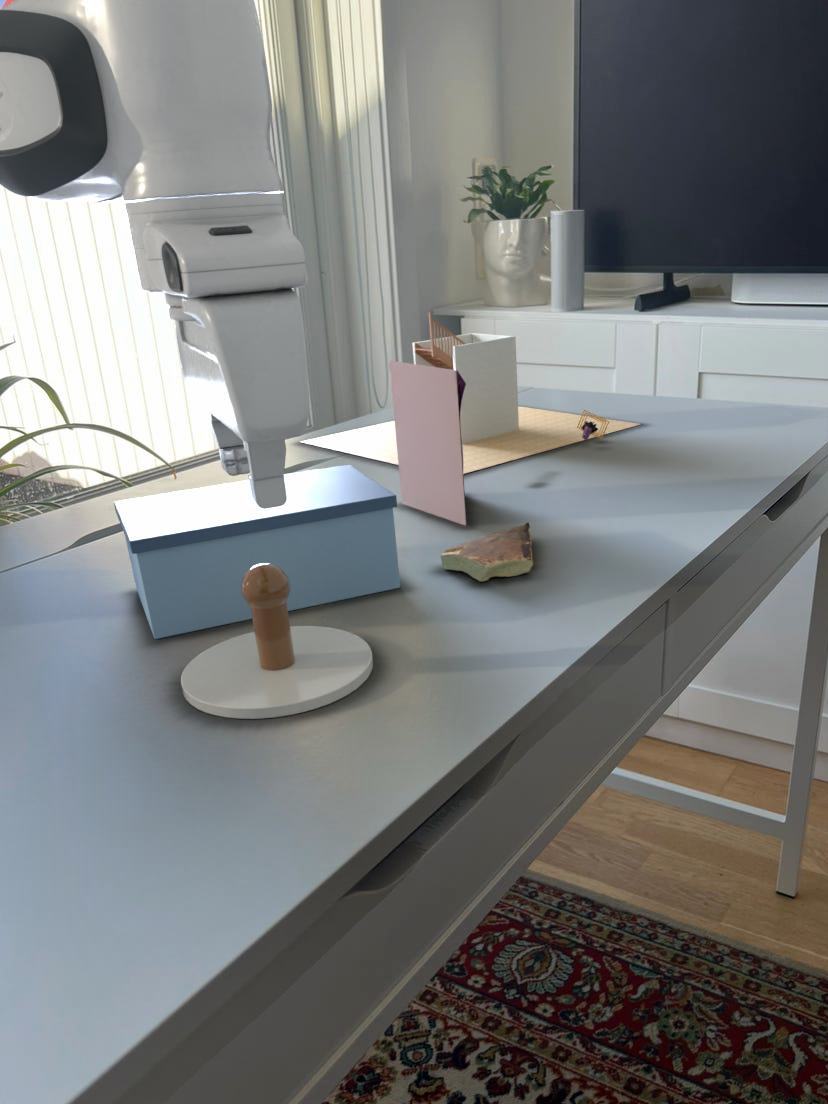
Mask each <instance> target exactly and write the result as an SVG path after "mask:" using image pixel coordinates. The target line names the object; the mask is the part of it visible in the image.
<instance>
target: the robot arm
mask: <svg viewBox="0 0 828 1104" xmlns="http://www.w3.org/2000/svg"><path fill="white" fill-rule="evenodd" d="M272 116H273V100H272V94H271V86H270V79H269V71H268V65H267V59H266V53H265V47H264V40H263V35H262V31H261V26H260V20H259V15H258V11H257V7H256V3H255V0H13V2H11V3H10V4H7V5H6V6H4V7H2V8H1V9H0V185H1V186H2V187H3V188H4V189H5V190H8V191H9V192H11V193H13V194H15V195H19V196H22V197H29V198H32V199H37V200H41V201H45V202H59V203H61V202H90V203H123V206H124V211H125V215H126V220H127V221H126V222H127V226H128V231H129V237H130V241H131V246H132V251H133V257H134V261H135V266H136V272H137V277H138V282H139V287H140V290H141V291H143V292H145V293H164V298H165V302H166V305H167V313H168V314H167V315H168V319H169V320H171V321H173V322H174V329H175V336H176V341H177V342H176V343H177V348H178V354H179V361H180V366H181V371H182V372H181V373H182V377H183V382H184V385H185V388H186V391H187V393H188V396H189V397H190V398H192V399H193V400H194V401H196V403H198V404H199V405H200V406H201V407H203V408H204V409H205V410H206V411H207V417H208V422H209V424H210V428H211V430H212V433H213V436H214V439H215V442H216V446H217V447H218V453H219V454H218V455H219V458H220V464H221V468H222V470H223V471H224V472H225V473H227V474H228V476H231V477H236V476H240V475H247V474H249V475H248V477H247V478H248V480H249V483H250V488H251V495H252V499H253V500H254V502H255V503H256V504H257V505H258V506H259V507H260V508H263V509H267V508H273V507H278V506H282V505H284V504H285V502H286V500H287V495H286V488H285V482H284V474H285V468H286V456H287V445H286V439H291V438H296V437H301V436H303V435H304V434H305V433H306V431H307V428H308V423H309V418H310V417H309V415H310V389H309V388H310V387H309V374H308V373H309V372H308V371H309V370H308V359H307V358H308V355H307V344H306V332H305V322H304V321H305V320H304V313H303V308H302V304H301V300H300V297H299V295H298V293H297V291H296V290H294V289H300V288H304V287H306V286H307V285H308V282H309V276H308V275H309V274H308V265H307V257H306V253H305V249H304V247H303V245H302V243H301V241H299V239H298V238H297V237H296V236H295V234H294V233H293V232H292V230H291V224H290V221H289V219H288V211H287V205H286V204H287V203H286V196H285V193H284V192H285V190H284V185H283V182H282V179H281V176H280V173H279V171H278V168H277V166H276V162H275V160H274V157H273V153H272V147H271V146H272V145H271V124H272Z"/></svg>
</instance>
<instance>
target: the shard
mask: <svg viewBox="0 0 828 1104" xmlns="http://www.w3.org/2000/svg"><path fill="white" fill-rule="evenodd" d="M530 528H531V525H530V522H526V523H525V524H523V525H518V526H515V527H512V528H510V529H507V530H503V531H500V532H499V531H498V532H496V533H495V532H494V533H491V534H488V535H485V536H482V537H478V538H475V539H472V540H469V541H467V542H463V543H460V544H458V545H456V546H452V547H450V548H448V549H444V551H443V552H442V553H441V555H440V561H441V566H442V569H443V570H450V571H458V572H464V573H465V574H468V576H470V577H471V578H473V579H475V580H477V581H478V582H480V583H481V582H486V581H489V580H490V578H494V577H500V578H504V577H507V578H509V577H517V576H520V575H524V574H528V573H530V572H531V571H532V567H533V566H534V560H533V551H532V543H533V542H532V535H531V532H530Z"/></svg>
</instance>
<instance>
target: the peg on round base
mask: <svg viewBox="0 0 828 1104" xmlns="http://www.w3.org/2000/svg"><path fill="white" fill-rule="evenodd" d="M241 592H242V595H243V598H244V600H245V601H246V602H247V604H249V605H250V609H251V615H252V619H251V620H252V626H253V631H251V632H247V633H243V634H240V635H237V636H234V637H231V638H229V639H225V640H223V641H221V642H219V643H216V644H214V645H212V646H211V647H208V648H206V649H205V650H203V651H202V652H200V653H198V654H197V655H196V656H195V657H193V658H192V659H191V660H190V661H189V662H188V663H187V664H186V666H185V667H184V669H183V670H182V673H181V676H180V685H181V689H182V690H181V691H182V695H183V697H184V698H185V701H186V702H188V703H189V704H190V706H192V707H194V708H195V709H197V710H199V711H201V712H204V713H206V714H210V715H213V716H216V717H222V718H229V719H236V720H237V719H238V720H239V719H241V720H244V719H245V720H259V719H273V718H281V717H287V716H292V715H297V714H302V713H306V712H308V711H313V710H316V709H320V708H322V707H325V706H328V705H330V704H332V703H335V702H336V701H340V700H341V699H343V698H345V697H347V696H348V695H350V694H352V693H353V692H355V691H356V690H357V689H359V688H360V687H361V686H362V685H363V684H364V683H365V682H366V681H367V680H368V678H369V677H370V676H371V674H372V670H373V667H374V658H373V652H372V647H371V646H370V645H369V643H368V642H366V640H365V639H364V638H362V637H360V636H358V635H357V634H354V633H352V632H350V631H346V630H344V629H339V628H335V627H329V626H321V625H320V626H319V625H292V626H291V623H290V615H289V611H288V609H287V603H286V600H287V598H288V596H289V593H290V582H289V579H288V577H287V575H286V574H285V572H284V571H283V570H282V569H281V568H279V567H278V566H276V565H273V564H269V563H262V564H257V565H255V566H253V567H251V568H250V569H249V570H248V571H247V572H246V573H245V575H244V576H243V579H242V582H241Z"/></svg>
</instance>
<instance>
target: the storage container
mask: <svg viewBox="0 0 828 1104" xmlns="http://www.w3.org/2000/svg"><path fill="white" fill-rule="evenodd" d="M284 482H285V488H286V495H287V500H286V502H285V504H284V505H282V506H278V507H273V508H267V509H263V508H260V507H259V506H258V505H257V504H256V503H255V502H254V500H253V499H252V495H251V488H250V483H249V479H245V480H240V481H232V482H228V483H222V484H215V485H208V486H203V487H195V488H190V489H184V490H177V491H171V492H165V493H158V494H153V495H146V496H145V495H144V496H139V497H134V498H127V499H126V498H125V499H120V500H115V501H113V506H114V510H115V515H116V516H117V519H118V521H119V524H120V526H121V529H122V532H123V534H124V537H125V542H126V547H127V550H128V556H129V560H130V565H131V569H132V574H133V578H134V579H133V580H134V583H135V588H136V592H137V595H138V597H139V600H140V603H141V606H142V608H143V611H144V613H145V616H146V619H147V622H148V625H149V627H150V630H151V633H152V635H153V638H154V639H155V640H158V639H163V638H167V637H171V636H172V637H173V636H176V635H177V636H178V635H182V634H186V633H191V632H196V631H201V630H206V629H211V628H215V627H219V626H224V625H230V624H234V623H238V622H244V621H248V620H252V615H251V609H250V605H249V604H247V602H246V601H245V600H244V598H243V595H242V592H241V582H242V579H243V576H244V575H245V573H246V572H247V571H248V570H249V569H250V568H251V567H253V566H255V565H257V564H262V563H269V564H273V565H276V566H278V567H279V568H281V569H282V570H283V571H284V572H285V574H286V575H287V577H288V579H289V582H290V593H289V596H288V598H287V600H286V603H287V609H288V612H290V611H295V610H300V609H301V610H302V609H305V608H309V607H314V606H319V605H324V604H329V603H334V602H338V601H342V600H343V601H344V600H348V599H353V598H356V597H363V596H367V595H373V594H377V593H382V592H385V591H390V590H396V589H399V588H401V578H400V568H399V558H398V548H397V537H396V528H395V527H396V526H395V518H394V517H395V515H394V508H397V507H398V501H397V500H398V499H397V495H396V494H395V493H393V492H392V491H390V490H389V489H388V488H386V487H385V486H383V485H381V484H380V483H379V482H377V481H375V480H374V479H373V478H370V477H369V476H368V475H366V474H365V473H363V472H362V471H361V470H359V469H357V468H355V466H353V465H351V464H350V463H349V464H342V465H334V466H328V467H323V468H316V469H310V470H303V471H296V472H291V473H284Z"/></svg>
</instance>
